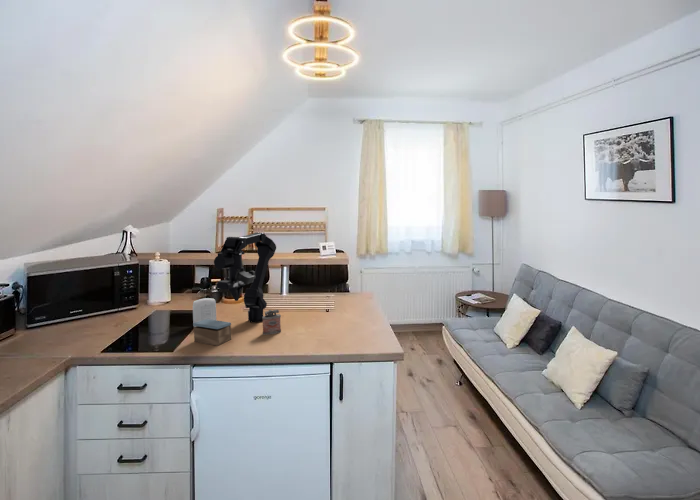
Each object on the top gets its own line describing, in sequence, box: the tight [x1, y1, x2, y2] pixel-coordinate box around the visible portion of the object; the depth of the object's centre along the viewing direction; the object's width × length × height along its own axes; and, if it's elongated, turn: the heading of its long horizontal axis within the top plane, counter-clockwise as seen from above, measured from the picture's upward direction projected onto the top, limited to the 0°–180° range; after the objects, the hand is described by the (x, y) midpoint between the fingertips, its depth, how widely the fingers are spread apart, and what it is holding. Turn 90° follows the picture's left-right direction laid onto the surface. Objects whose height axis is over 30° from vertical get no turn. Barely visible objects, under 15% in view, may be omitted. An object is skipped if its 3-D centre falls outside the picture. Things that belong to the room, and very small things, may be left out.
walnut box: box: [193, 324, 232, 347], centre depth 173 cm, size 8×12×6 cm, turn 67°
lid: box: [192, 319, 232, 329], centre depth 172 cm, size 8×12×1 cm, turn 67°
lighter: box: [262, 309, 282, 336], centre depth 182 cm, size 8×3×10 cm, turn 117°
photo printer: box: [192, 297, 217, 328], centre depth 193 cm, size 10×4×12 cm, turn 123°
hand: (236, 300), depth 186 cm, fingers closed
